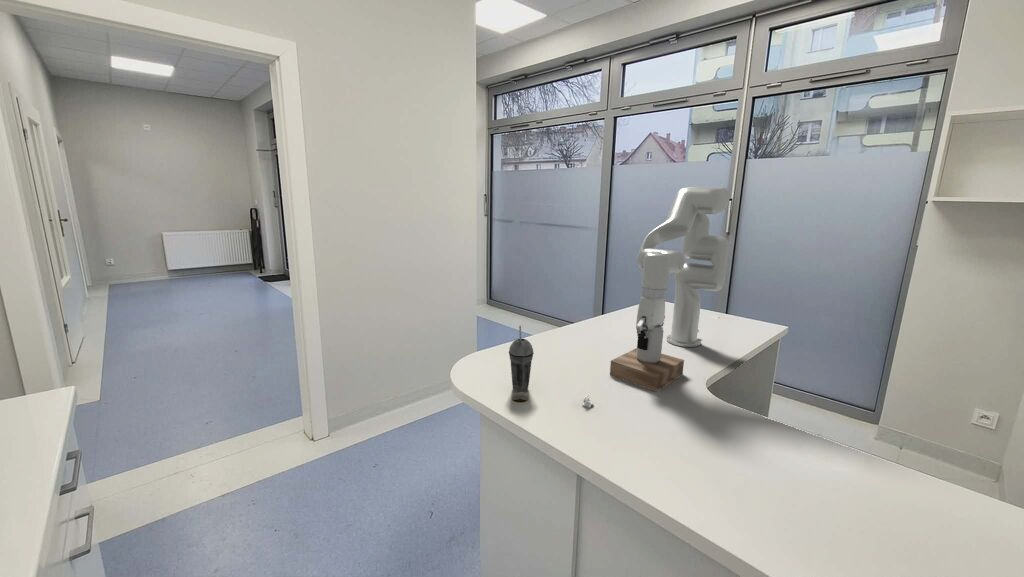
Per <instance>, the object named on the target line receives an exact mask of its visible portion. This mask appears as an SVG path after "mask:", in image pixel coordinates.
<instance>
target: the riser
mask: <svg viewBox="0 0 1024 577" xmlns="http://www.w3.org/2000/svg"><path fill="white" fill-rule="evenodd" d="M636 353H637V347H636V348H634V349H632V350H630V351H628V352H625V353H624V354H622V355H619V356H617V357H616V358H613V359H611V360H610V368H609V376H611V377H613V378H617V379H620V380H622V381H625V382H628V383H631V384H633V385H636V386H639V387H641V388H645V389H647V390H650V391H653V392H659V391H660V390H662V389H663V388H665V387H667V385H669V384H671V383H672V382H673V381H675V380H676V379H678V378H680V377H681V376H682V375H683V372H684V367H685V366H684V364H685V359H683V358H679V357H675V356H672V355H668V354H664V353H662V352H661V359H660V361H658V362H657V363H644V362H642V361H640V360H639V359H638V358H637V357H636Z"/></svg>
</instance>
